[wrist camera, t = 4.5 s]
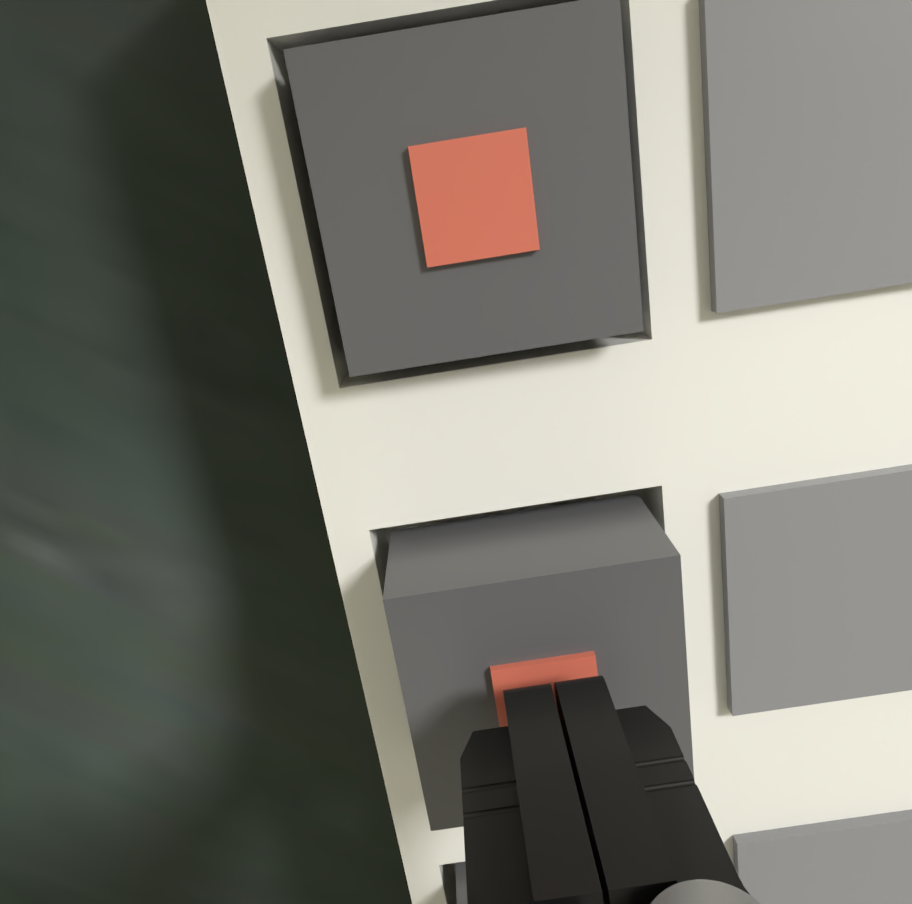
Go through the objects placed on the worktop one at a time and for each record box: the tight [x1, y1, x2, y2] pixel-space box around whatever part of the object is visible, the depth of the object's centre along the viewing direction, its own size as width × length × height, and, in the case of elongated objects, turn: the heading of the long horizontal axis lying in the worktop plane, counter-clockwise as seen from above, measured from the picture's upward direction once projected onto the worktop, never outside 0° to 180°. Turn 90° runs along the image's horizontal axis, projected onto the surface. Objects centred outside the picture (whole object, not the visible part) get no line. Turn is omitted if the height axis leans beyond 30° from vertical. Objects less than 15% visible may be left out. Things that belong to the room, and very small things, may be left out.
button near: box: [283, 0, 644, 377], centre depth 11 cm, size 4×4×2 cm
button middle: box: [383, 494, 694, 831], centre depth 13 cm, size 4×4×2 cm
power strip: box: [206, 0, 912, 904], centre depth 15 cm, size 27×12×4 cm, turn 9°
